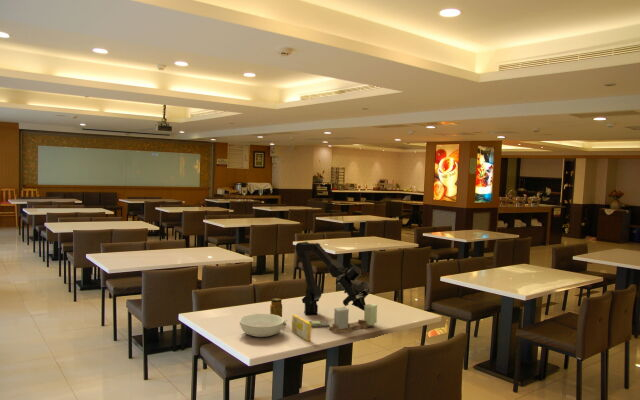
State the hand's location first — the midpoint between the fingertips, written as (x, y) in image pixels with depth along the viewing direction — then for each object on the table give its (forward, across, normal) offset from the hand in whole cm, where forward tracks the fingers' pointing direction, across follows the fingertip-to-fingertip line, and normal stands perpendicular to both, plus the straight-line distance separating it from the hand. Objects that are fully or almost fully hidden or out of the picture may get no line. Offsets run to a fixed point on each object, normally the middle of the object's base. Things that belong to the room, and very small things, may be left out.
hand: (366, 311), depth 244 cm
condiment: (-22, -23, +33) cm, 46 cm away
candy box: (-6, -32, +17) cm, 37 cm away
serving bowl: (-18, -42, +29) cm, 54 cm away
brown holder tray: (+2, -7, +8) cm, 11 cm away
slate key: (0, -15, +8) cm, 17 cm away
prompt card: (-8, -14, +19) cm, 25 cm away
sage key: (+6, 0, +2) cm, 6 cm away
